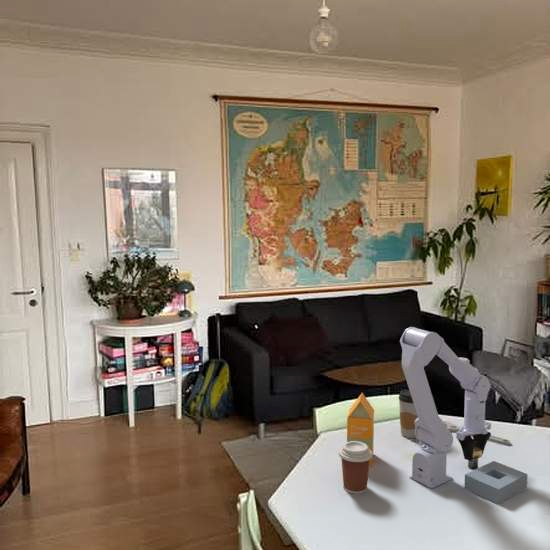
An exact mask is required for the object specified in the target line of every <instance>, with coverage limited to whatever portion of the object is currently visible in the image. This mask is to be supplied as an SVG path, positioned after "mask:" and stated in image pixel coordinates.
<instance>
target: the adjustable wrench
mask: <svg viewBox="0 0 550 550" xmlns="http://www.w3.org/2000/svg"><path fill="white" fill-rule="evenodd" d="M442 421H443V422H444V423H445V424H446V425H447V428H448V430H449V431H450V432H451V433H457V432H458V431H459V430H460V429H461V428H462V427H461V426H459V425H457V424H454V423H453V422H451V421H447V420H442ZM471 437H473V436H472V435H471ZM488 441H489V442H492V443H497V444H499V445H503V446H510V445H511V440H509V439H507V438H503V437H499V436H494V435H492V434H491V436H490V438H489V439H488ZM488 441H487V442H488Z"/></svg>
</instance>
